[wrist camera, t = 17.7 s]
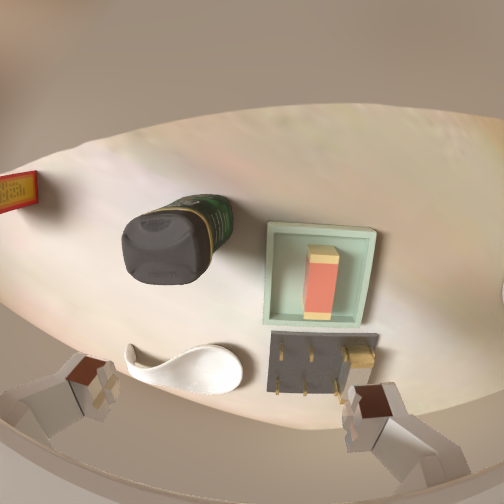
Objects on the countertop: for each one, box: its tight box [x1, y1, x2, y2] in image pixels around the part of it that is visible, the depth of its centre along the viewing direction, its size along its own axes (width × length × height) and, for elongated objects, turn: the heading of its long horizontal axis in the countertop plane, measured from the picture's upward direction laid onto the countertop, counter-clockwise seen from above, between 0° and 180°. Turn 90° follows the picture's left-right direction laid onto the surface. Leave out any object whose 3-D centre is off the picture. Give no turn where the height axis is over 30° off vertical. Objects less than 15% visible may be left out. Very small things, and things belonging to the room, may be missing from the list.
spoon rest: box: [125, 344, 243, 395], centre depth 51 cm, size 24×12×7 cm, turn 92°
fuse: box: [302, 244, 339, 320], centre depth 44 cm, size 4×10×5 cm, turn 178°
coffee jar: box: [122, 194, 233, 285], centre depth 37 cm, size 10×8×19 cm
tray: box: [263, 221, 377, 328], centre depth 45 cm, size 16×16×3 cm
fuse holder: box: [267, 331, 378, 404], centre depth 49 cm, size 19×14×6 cm
